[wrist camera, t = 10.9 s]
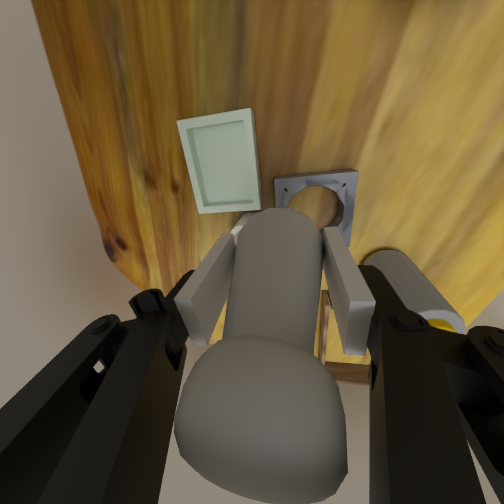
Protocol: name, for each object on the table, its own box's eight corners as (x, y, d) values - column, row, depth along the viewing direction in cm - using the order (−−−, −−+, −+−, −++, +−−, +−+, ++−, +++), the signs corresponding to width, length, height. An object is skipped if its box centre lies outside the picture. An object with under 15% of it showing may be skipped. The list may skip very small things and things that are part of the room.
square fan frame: (275, 176, 28) (274, 179, 26) (352, 168, 26) (359, 171, 24) (279, 240, 33) (278, 249, 30) (344, 238, 31) (349, 247, 28)
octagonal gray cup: (233, 213, 32) (222, 226, 27) (271, 211, 31) (267, 224, 26) (239, 246, 35) (230, 264, 30) (273, 245, 34) (270, 264, 28)
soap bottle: (352, 279, 34) (403, 392, 18) (367, 242, 31) (445, 344, 15) (395, 286, 33) (486, 411, 18) (415, 249, 30) (550, 364, 14)
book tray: (322, 290, 36) (325, 305, 33) (422, 291, 33) (438, 309, 29) (318, 362, 45) (320, 380, 42) (396, 369, 42) (405, 389, 39)
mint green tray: (185, 122, 27) (176, 120, 25) (254, 110, 25) (250, 107, 23) (205, 209, 33) (198, 213, 30) (262, 205, 31) (260, 209, 28)
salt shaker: (262, 275, 18) (210, 513, 6) (230, 218, 15) (68, 421, 4) (330, 253, 15) (431, 552, 4) (303, 184, 13) (362, 409, 2)
